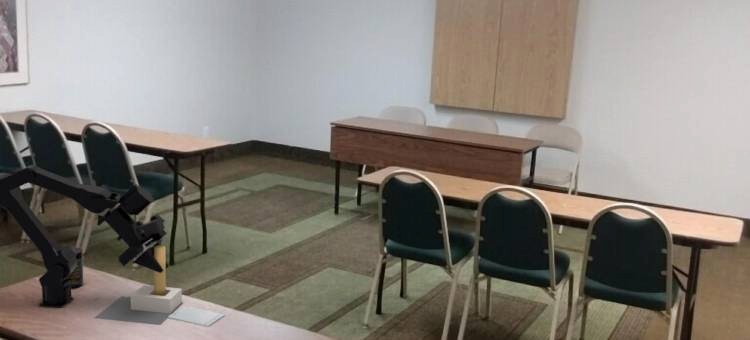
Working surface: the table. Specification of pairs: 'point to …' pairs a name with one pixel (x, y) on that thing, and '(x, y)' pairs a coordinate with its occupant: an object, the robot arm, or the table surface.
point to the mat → (132, 313)
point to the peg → (161, 277)
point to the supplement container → (77, 269)
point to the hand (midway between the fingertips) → (164, 269)
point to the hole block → (156, 299)
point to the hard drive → (196, 316)
